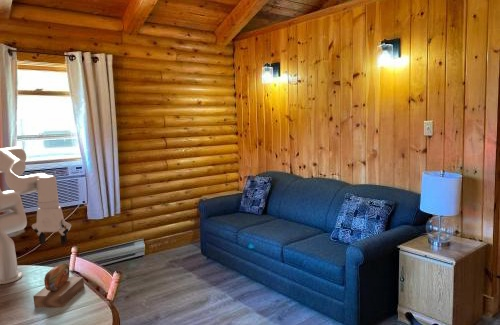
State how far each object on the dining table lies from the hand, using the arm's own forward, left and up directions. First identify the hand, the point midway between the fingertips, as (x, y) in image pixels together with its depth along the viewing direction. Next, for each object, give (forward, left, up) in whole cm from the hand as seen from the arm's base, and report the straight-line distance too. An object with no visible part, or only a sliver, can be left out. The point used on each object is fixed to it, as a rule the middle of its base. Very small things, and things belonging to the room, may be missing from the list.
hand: (53, 243), depth 173 cm
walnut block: (+1, -2, -24) cm, 24 cm away
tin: (+1, -2, -19) cm, 19 cm away
